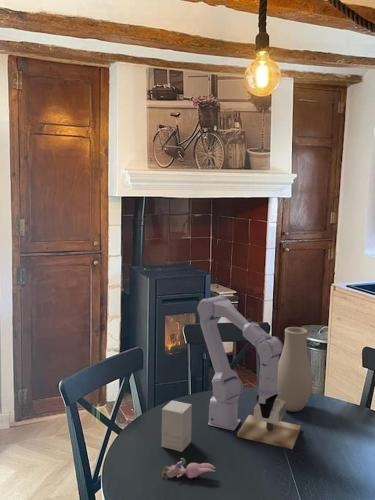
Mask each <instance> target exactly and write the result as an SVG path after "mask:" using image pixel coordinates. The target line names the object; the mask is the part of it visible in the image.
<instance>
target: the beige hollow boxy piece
mask: <svg viewBox="0 0 375 500" xmlns="http://www.w3.org/2000/svg"><path fill="white" fill-rule="evenodd" d="M286 404H287V401H286V400H281V399H277V398H276V399H275V402H274V405H273V409H271V412H270V416H269V418H268V419H266V418H262V415H261V409H260V405H259V403H258V402H257V403H256V404H255V405H254V408H253V416H254V417H253V419H254V420H258V421H263V422H268V423H273V424H277V425H278V424H279V422H280V421H282V419H283V418H284V416H285V415H286V413H287V410H286Z"/></svg>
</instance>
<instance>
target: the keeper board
mask: <svg viewBox="0 0 375 500" xmlns="http://www.w3.org/2000/svg"><path fill="white" fill-rule="evenodd" d="M253 417H254V414H253V415H252V414H248V416H247V417H246V418H245V421H244V422H243V423H242V425H241V427H239V429H238V431H237V434H236V436H237V438H242V439H246V440H251V441H255V442H259V443H264V444H267V445H272V446H277V447H281V448H285V449H289V450H293V449H294V446H295V444H296V442H297V439H298V437H299V434H300V433H301V430H302V429H301V426H302V425H300V424H296V423H290V422H286V421H282V420H281V421H280V422H279V424H278V425H277V424H273V423H268V422H263V421H258V420H254V419H253Z"/></svg>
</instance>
